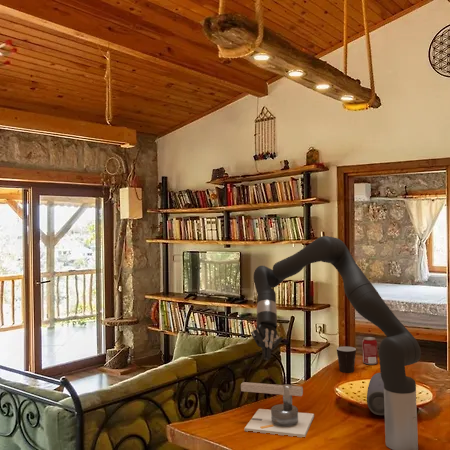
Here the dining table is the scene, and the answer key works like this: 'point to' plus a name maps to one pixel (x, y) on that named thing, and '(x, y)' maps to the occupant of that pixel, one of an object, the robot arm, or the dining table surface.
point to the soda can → (370, 350)
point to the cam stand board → (264, 425)
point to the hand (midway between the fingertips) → (266, 359)
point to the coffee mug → (346, 359)
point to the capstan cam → (282, 412)
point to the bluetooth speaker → (376, 395)
